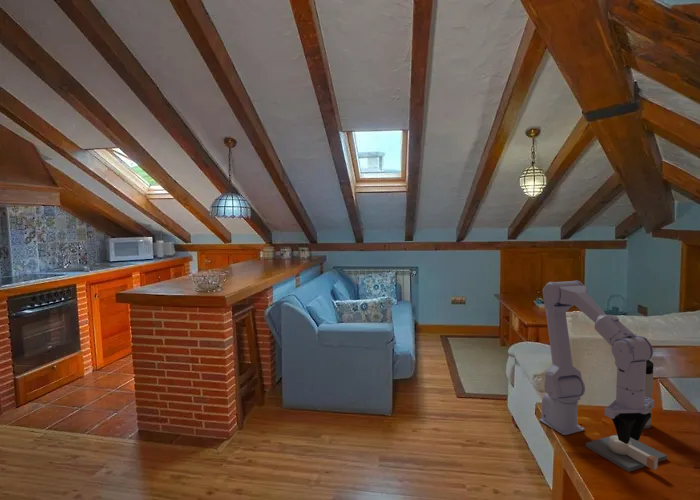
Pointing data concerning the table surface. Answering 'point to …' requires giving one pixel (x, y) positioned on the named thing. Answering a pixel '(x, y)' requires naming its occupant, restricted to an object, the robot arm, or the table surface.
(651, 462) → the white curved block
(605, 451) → the flat gray base
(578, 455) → the table surface
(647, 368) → the travel mug
